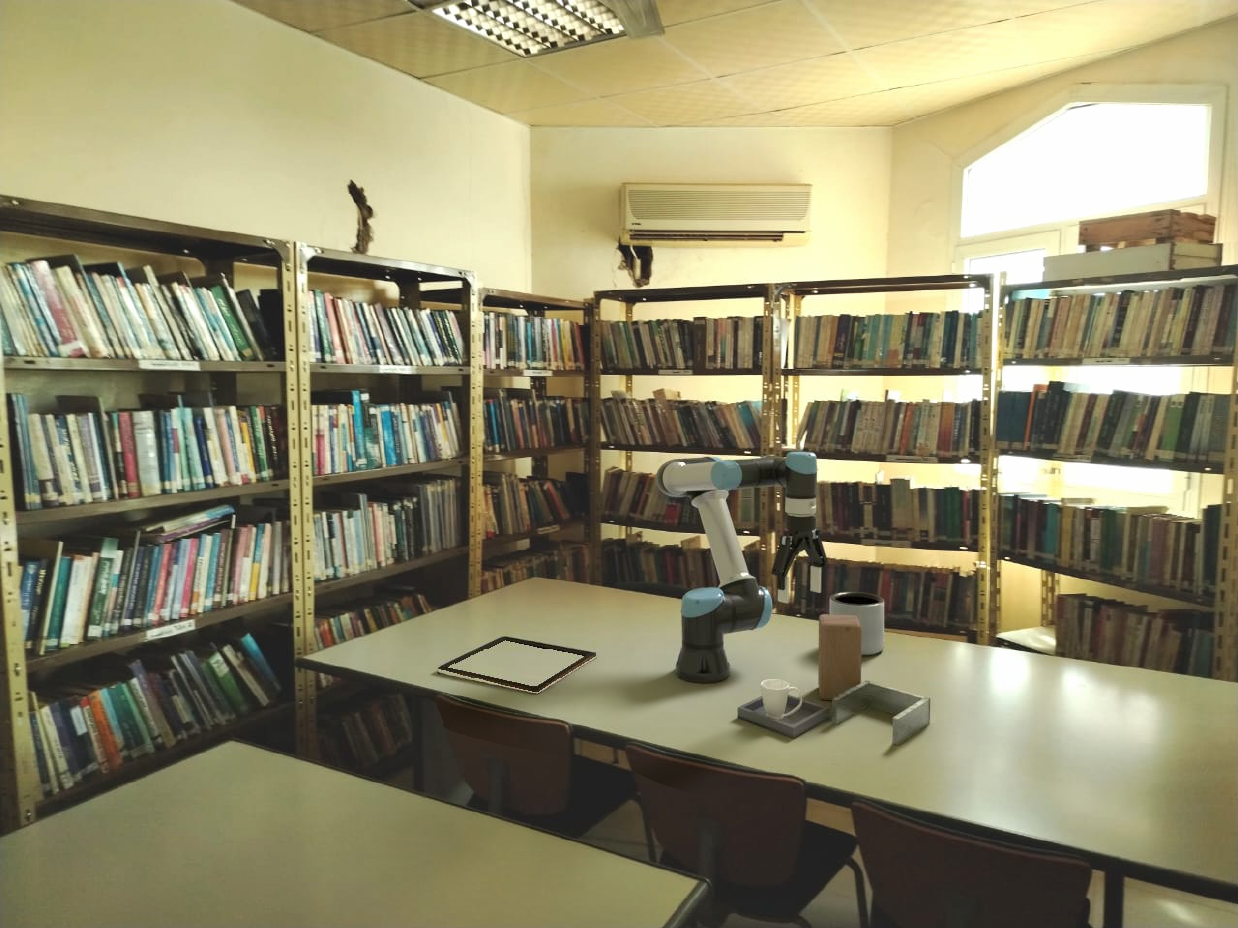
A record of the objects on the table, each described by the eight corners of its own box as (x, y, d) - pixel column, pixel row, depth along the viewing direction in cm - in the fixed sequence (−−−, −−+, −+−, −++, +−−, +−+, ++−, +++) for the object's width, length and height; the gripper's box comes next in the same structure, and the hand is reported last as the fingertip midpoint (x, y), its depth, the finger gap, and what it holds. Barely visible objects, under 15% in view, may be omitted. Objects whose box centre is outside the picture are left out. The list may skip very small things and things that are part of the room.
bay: (831, 722, 184) (832, 698, 184) (866, 703, 195) (866, 680, 194) (897, 745, 172) (897, 719, 172) (929, 722, 183) (930, 698, 183)
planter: (895, 649, 234) (896, 599, 232) (860, 661, 225) (861, 608, 223) (852, 636, 247) (852, 588, 245) (817, 646, 238) (818, 596, 236)
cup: (757, 710, 190) (757, 678, 190) (798, 709, 191) (798, 677, 190) (763, 722, 183) (763, 689, 183) (805, 721, 184) (805, 688, 183)
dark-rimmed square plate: (428, 679, 217) (427, 669, 217) (493, 641, 250) (493, 633, 250) (549, 699, 203) (549, 688, 203) (602, 656, 236) (602, 647, 235)
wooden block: (861, 703, 195) (862, 626, 193) (820, 700, 197) (820, 624, 195) (857, 688, 205) (858, 614, 203) (818, 685, 207) (818, 612, 205)
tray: (737, 717, 188) (737, 707, 188) (773, 699, 198) (774, 689, 198) (793, 738, 176) (793, 727, 176) (829, 718, 187) (829, 707, 186)
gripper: (782, 522, 183) (781, 609, 186) (842, 509, 199) (840, 590, 202) (757, 518, 189) (756, 603, 191) (817, 506, 205) (816, 584, 207)
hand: (799, 596), depth 196 cm, fingers open, 13 cm apart
